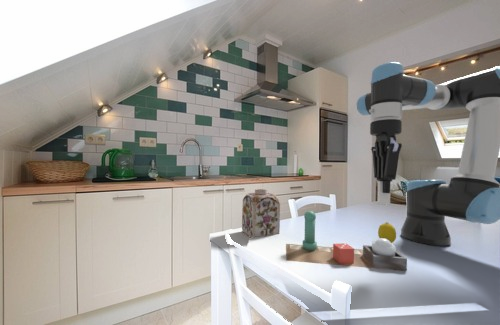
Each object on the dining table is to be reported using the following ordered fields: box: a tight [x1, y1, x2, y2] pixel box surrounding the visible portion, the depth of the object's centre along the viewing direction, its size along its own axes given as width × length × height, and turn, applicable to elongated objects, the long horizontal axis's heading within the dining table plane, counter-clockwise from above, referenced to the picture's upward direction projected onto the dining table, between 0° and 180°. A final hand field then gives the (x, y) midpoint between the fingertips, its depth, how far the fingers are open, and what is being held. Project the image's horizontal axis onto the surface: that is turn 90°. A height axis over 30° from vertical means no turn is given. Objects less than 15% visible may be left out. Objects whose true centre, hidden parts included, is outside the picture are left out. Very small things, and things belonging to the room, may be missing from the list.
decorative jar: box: [241, 188, 281, 239], centre depth 87 cm, size 12×12×18 cm
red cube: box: [332, 242, 355, 264], centre depth 62 cm, size 4×4×4 cm
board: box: [285, 243, 408, 272], centre depth 65 cm, size 31×13×4 cm, turn 81°
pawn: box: [302, 210, 318, 251], centre depth 70 cm, size 4×4×12 cm
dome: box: [371, 237, 396, 257], centre depth 61 cm, size 6×6×5 cm
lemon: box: [377, 221, 397, 244], centre depth 78 cm, size 6×6×8 cm
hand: (383, 204), depth 61 cm, fingers closed
